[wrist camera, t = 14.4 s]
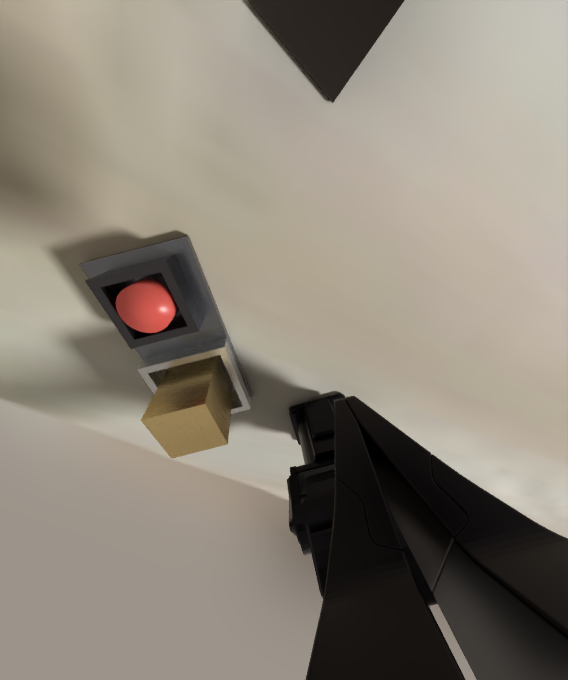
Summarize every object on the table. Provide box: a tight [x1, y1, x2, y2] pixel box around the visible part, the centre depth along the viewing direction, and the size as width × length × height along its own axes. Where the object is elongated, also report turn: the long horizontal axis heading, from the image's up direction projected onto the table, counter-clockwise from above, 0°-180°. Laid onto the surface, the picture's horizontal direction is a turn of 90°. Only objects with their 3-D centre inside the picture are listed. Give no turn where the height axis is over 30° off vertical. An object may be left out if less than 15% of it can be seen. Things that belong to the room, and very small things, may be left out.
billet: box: [141, 356, 233, 458], centre depth 19 cm, size 4×4×6 cm
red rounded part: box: [116, 275, 179, 333], centre depth 17 cm, size 3×3×3 cm
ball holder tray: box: [80, 236, 253, 414], centre depth 19 cm, size 16×8×3 cm, turn 12°
